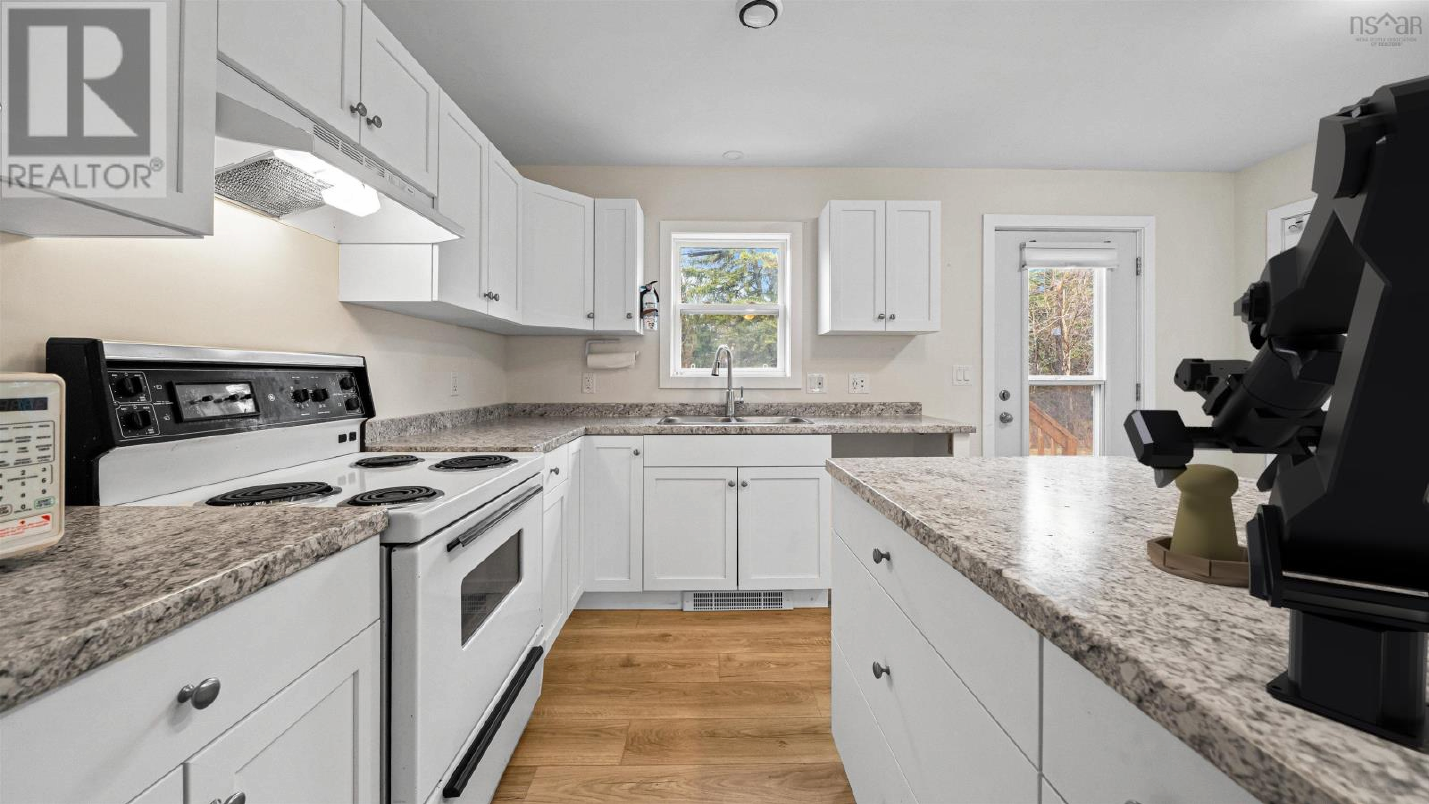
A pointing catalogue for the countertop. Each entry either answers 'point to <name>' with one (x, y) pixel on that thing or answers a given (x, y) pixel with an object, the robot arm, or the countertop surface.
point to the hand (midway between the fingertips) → (1207, 486)
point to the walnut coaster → (1198, 564)
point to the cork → (1206, 513)
